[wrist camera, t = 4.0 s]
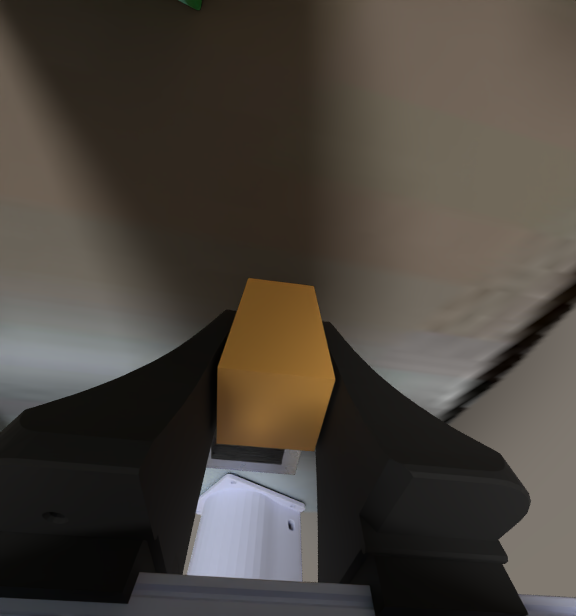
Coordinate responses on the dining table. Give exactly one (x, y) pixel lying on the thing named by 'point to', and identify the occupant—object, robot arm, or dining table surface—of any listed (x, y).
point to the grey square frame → (252, 458)
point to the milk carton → (193, 3)
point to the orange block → (274, 369)
